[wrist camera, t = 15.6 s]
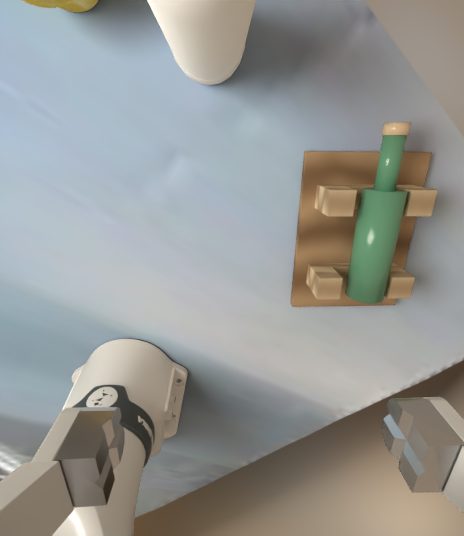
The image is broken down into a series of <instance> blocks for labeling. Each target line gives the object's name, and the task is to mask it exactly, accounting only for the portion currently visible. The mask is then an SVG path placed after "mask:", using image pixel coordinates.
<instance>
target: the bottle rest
mask: <svg viewBox="0 0 464 536" xmlns="http://www.w3.org/2000/svg"><path fill="white" fill-rule="evenodd" d="M431 154H432V152H403V157H402V162H401V167H400V172H399V176H398V181H397V186H396V189H401V190H406V191H408V194H407V199H406V203H405V208H404V212H403V216H402V221H401V225H400V230H399V234H398V239H397V243H396V248H395V252H394V257H393V261H392V266H391V270H390V275H389V279H388V284H387V288H386V293H385V297H384V300H383V301H382V302H380V303H376V304H368V303H362V302H358V301H355V300H353V299H351V298H349V297H348V296H347V295H346V294H345V287H346V281H347V275H348V269H349V263H350V257H351V251H352V245H353V239H354V233H355V227H356V221H357V215H358V209H359V203H360V197H361V191H362V188H374V183H375V178H376V172H377V166H378V161H379V155H380V152H327V151H304V161H303V172H302V183H301V194H300V205H299V216H298V227H297V238H296V249H295V259H294V270H293V281H292V292H291V305H292V307H306V306H370V305H395V303H396V299H397V298H410V296H411V292H412V288H413V284H414V280H415V277H414V276H412V275H411V274H409V273H408V272H406V271H405V270H404V266H405V262H406V258H407V253H408V249H409V245H410V241H411V237H412V233H413V229H414V224H415V220H416V216H431V215H432V211H433V207H434V203H435V199H436V196H437V192H438V190H433V189H429V188H424V183H425V179H426V175H427V171H428V166H429V162H430V158H431Z"/></svg>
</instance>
